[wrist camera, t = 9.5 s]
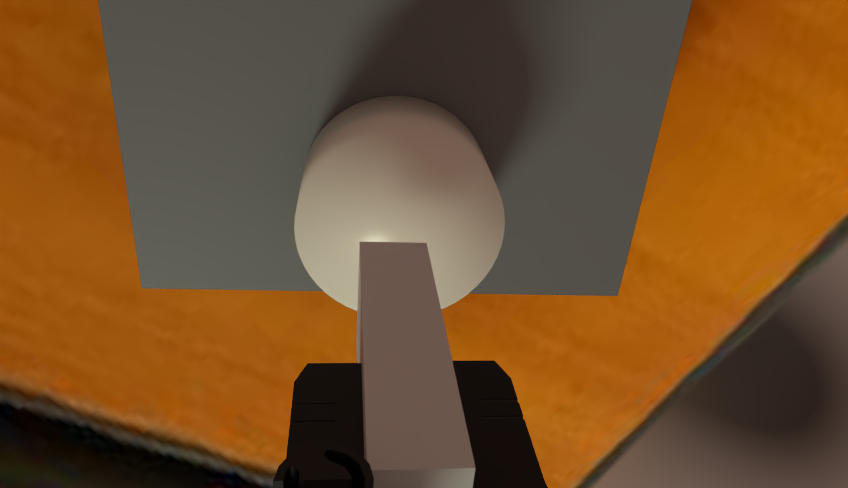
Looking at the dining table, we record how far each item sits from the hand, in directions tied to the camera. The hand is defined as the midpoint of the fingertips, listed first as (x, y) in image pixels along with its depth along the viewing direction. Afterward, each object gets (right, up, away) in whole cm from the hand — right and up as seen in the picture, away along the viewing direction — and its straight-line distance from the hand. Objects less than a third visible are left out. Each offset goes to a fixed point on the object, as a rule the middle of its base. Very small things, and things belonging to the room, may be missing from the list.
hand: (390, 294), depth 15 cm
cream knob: (-1, +5, +9) cm, 11 cm away
